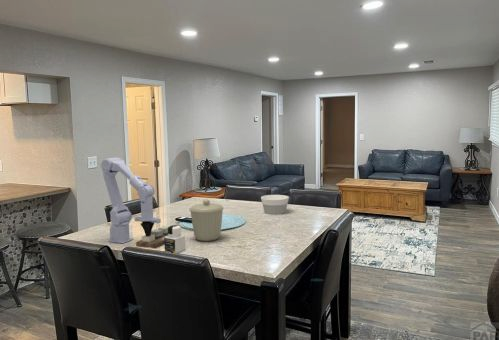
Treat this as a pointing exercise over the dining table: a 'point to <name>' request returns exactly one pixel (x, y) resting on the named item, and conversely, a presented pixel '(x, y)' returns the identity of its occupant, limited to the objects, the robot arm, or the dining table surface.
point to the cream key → (148, 238)
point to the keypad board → (153, 242)
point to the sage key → (164, 229)
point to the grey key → (157, 232)
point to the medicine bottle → (174, 240)
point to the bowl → (275, 204)
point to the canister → (206, 220)
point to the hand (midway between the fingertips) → (148, 236)
